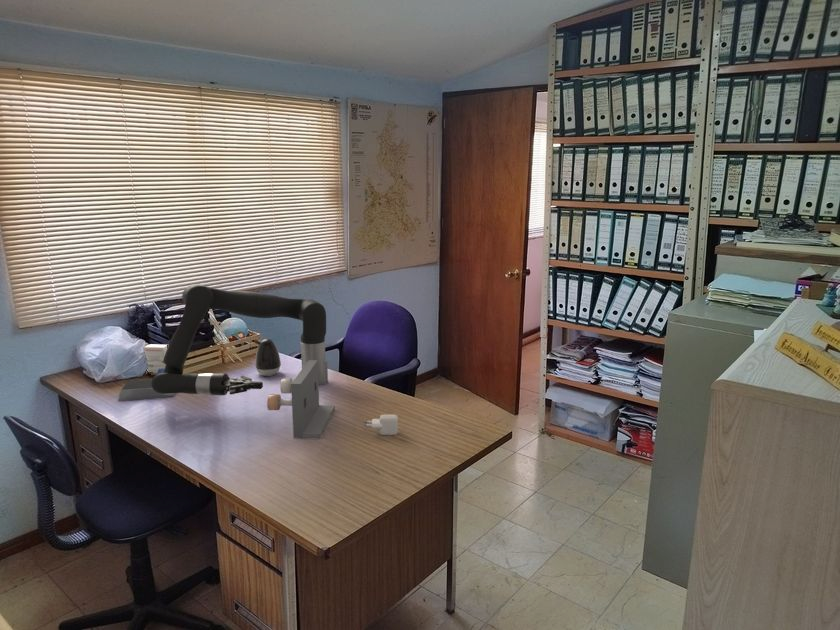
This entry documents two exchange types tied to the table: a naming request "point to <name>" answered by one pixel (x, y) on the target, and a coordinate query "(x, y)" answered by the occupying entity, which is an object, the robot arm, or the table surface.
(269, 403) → the terracotta knob
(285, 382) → the cream knob
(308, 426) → the knob mount
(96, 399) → the table surface
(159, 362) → the ink box
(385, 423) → the power adapter
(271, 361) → the dark grey tapered speaker
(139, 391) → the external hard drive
